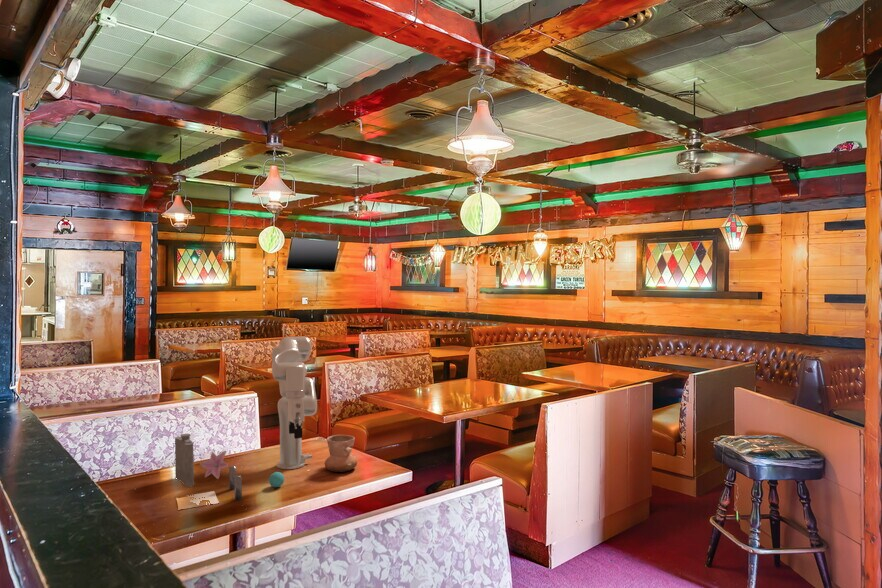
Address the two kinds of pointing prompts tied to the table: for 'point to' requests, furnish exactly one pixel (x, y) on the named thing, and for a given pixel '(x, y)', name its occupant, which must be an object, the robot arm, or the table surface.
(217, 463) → the lily
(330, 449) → the ceramic jug
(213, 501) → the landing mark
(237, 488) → the post
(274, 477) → the ball
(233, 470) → the post
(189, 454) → the hip flask
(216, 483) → the table surface
